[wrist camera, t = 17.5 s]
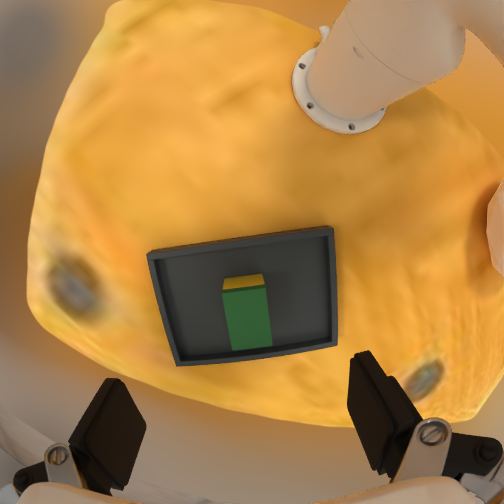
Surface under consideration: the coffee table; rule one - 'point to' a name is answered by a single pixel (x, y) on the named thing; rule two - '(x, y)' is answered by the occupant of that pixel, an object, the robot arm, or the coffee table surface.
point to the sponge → (247, 312)
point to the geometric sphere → (496, 229)
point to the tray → (277, 289)
